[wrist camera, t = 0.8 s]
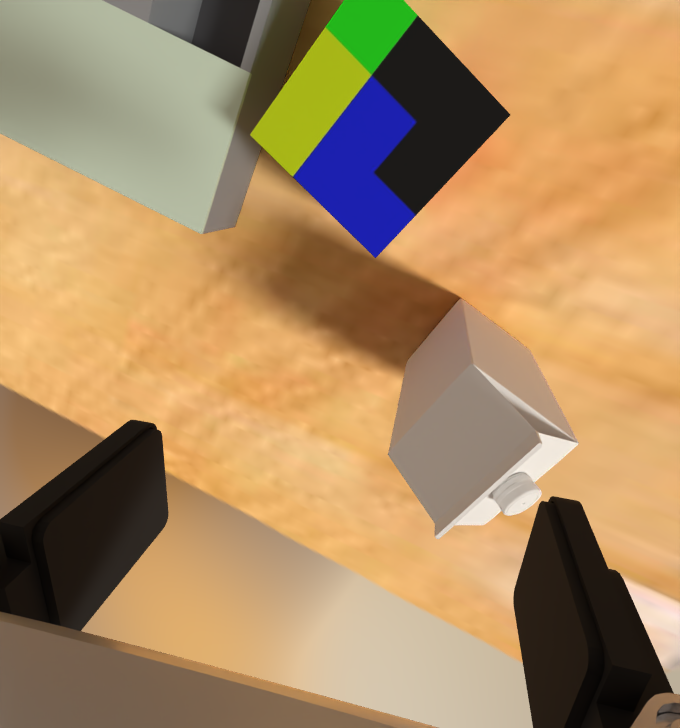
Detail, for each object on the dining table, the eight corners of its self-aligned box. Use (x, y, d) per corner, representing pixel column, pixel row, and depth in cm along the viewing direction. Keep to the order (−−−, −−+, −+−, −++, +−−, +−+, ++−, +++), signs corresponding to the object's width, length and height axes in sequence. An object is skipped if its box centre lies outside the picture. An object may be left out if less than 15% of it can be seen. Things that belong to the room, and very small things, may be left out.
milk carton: (405, 361, 40) (377, 497, 23) (460, 296, 37) (476, 395, 20) (471, 409, 41) (492, 579, 23) (530, 349, 38) (605, 491, 20)
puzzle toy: (391, 239, 37) (375, 258, 28) (298, 147, 36) (249, 134, 27) (491, 133, 33) (510, 114, 24) (390, 26, 32) (369, -37, 23)
